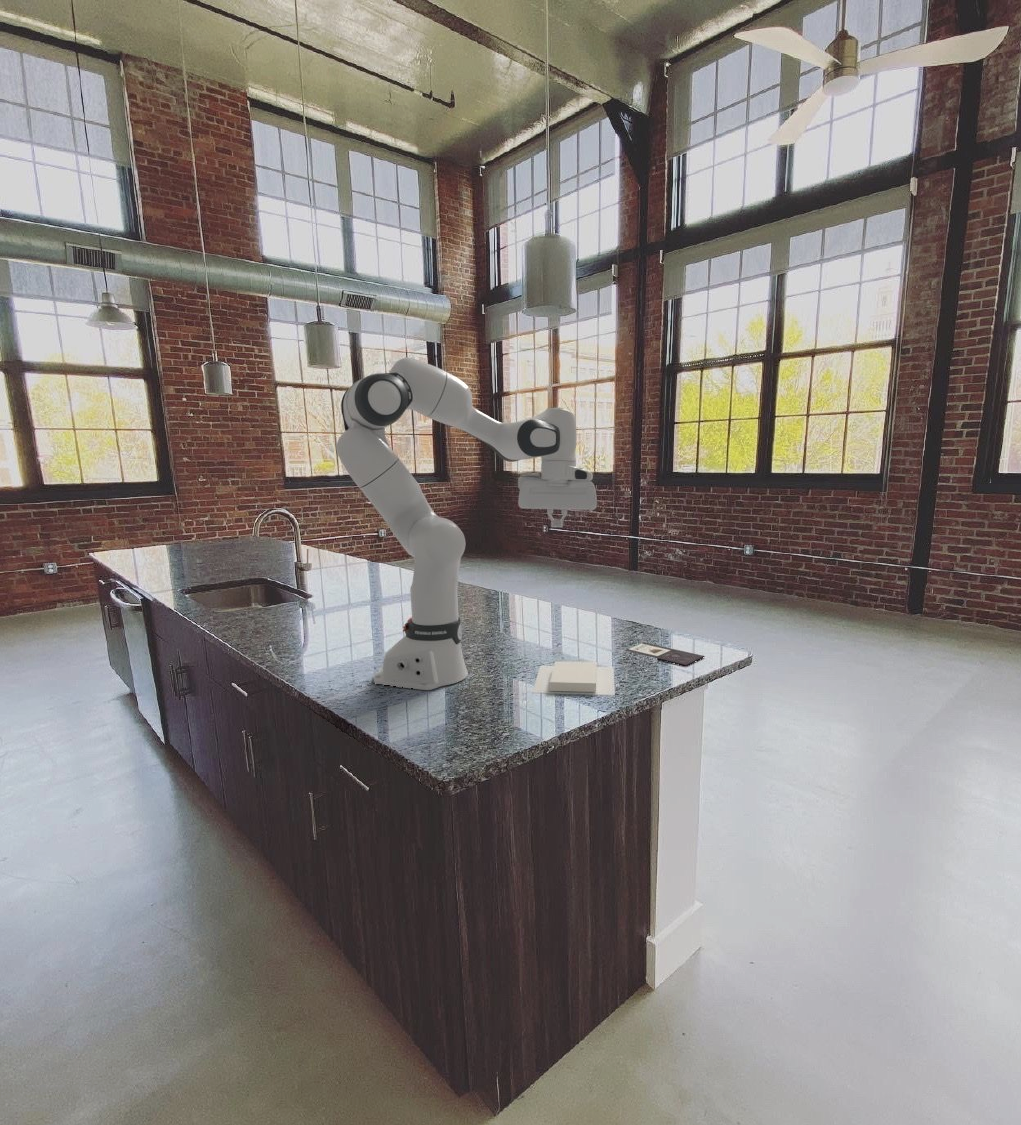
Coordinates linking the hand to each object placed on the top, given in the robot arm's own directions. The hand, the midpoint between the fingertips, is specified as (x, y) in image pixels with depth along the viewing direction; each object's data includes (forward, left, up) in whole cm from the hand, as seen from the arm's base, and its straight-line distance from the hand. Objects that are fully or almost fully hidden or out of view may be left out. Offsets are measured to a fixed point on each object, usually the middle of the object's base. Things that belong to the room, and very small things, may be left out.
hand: (556, 527), depth 155 cm
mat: (+5, -21, -34) cm, 40 cm away
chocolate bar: (+27, -1, -34) cm, 44 cm away
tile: (+5, -16, -32) cm, 36 cm away
